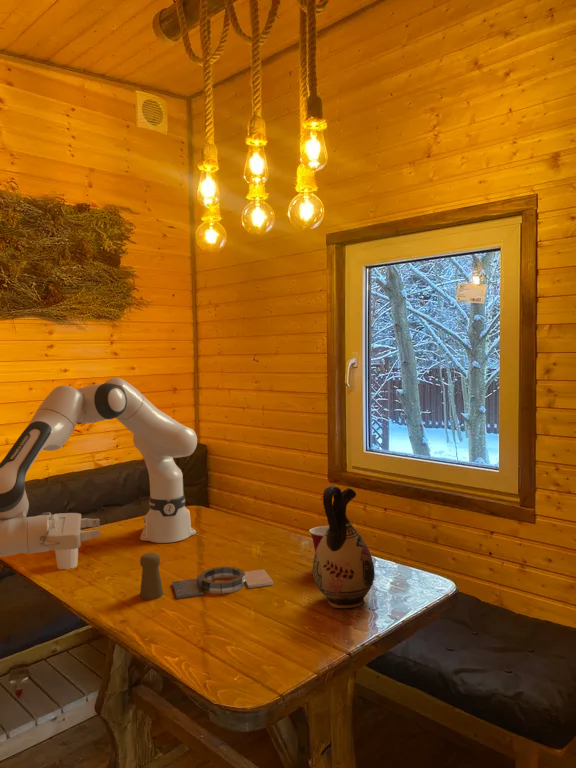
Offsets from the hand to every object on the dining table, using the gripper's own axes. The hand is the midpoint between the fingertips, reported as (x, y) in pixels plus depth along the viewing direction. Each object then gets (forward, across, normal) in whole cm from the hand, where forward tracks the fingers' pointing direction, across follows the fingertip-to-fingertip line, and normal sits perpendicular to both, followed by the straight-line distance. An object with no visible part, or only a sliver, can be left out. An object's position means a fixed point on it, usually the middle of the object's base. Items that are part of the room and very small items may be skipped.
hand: (100, 527), depth 158 cm
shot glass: (-10, +31, +20) cm, 38 cm away
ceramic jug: (+57, -22, +20) cm, 64 cm away
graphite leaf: (+28, 0, +20) cm, 34 cm away
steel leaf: (+35, 0, +19) cm, 40 cm away
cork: (+12, 0, +20) cm, 23 cm away
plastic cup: (+62, 0, +20) cm, 65 cm away
